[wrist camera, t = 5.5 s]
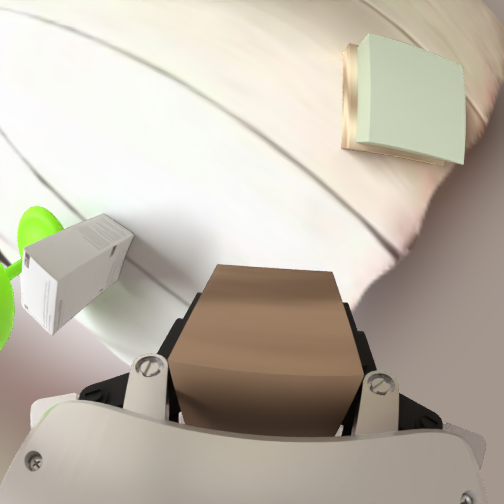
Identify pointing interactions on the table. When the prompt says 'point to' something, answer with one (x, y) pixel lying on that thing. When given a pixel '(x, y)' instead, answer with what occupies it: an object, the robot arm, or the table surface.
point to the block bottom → (351, 113)
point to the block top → (410, 100)
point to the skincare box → (71, 269)
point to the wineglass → (29, 231)
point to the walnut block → (267, 354)
